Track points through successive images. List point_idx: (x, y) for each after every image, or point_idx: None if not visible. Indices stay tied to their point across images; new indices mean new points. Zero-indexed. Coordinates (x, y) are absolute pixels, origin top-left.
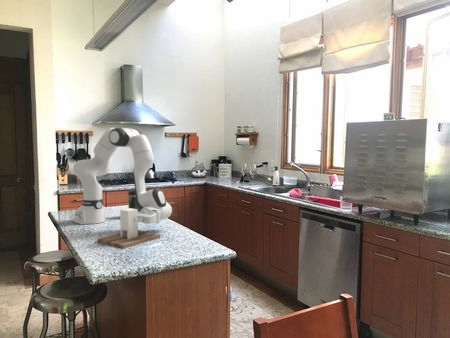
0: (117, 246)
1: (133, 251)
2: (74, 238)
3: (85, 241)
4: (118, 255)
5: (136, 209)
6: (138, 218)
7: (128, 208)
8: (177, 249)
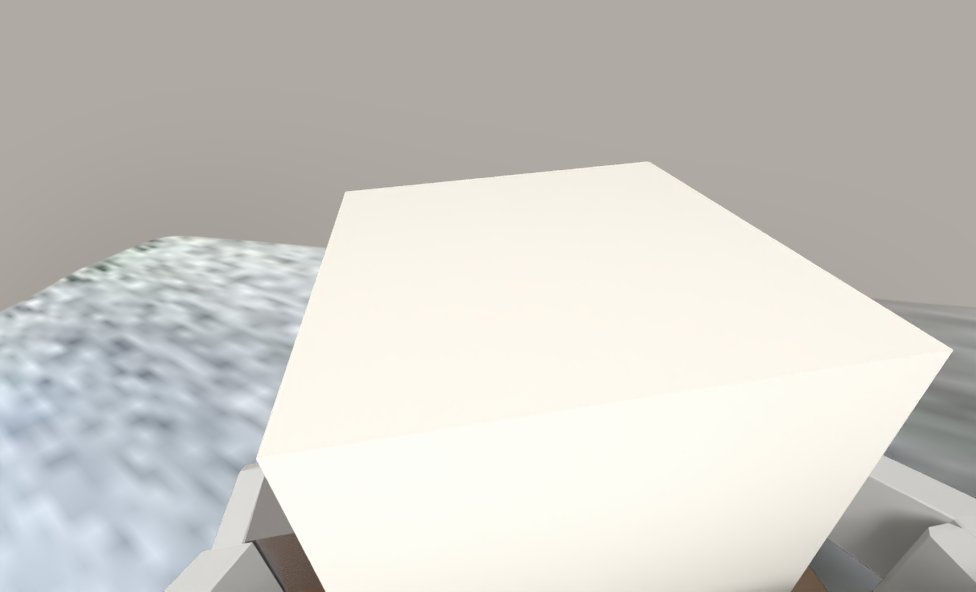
0: None
1: (157, 443)
2: None
3: None
4: (226, 347)
5: (296, 414)
6: (196, 561)
7: (832, 299)
8: None
